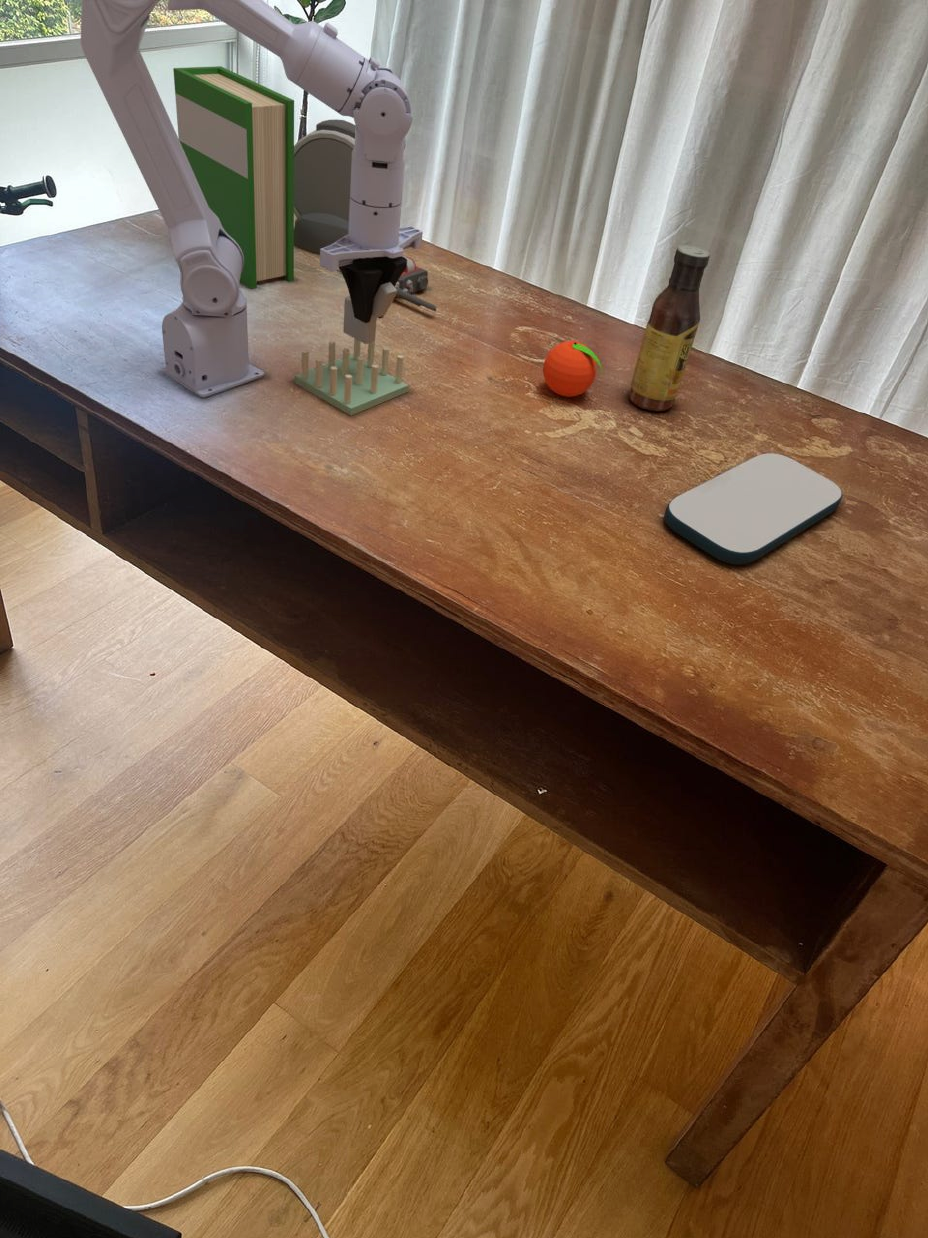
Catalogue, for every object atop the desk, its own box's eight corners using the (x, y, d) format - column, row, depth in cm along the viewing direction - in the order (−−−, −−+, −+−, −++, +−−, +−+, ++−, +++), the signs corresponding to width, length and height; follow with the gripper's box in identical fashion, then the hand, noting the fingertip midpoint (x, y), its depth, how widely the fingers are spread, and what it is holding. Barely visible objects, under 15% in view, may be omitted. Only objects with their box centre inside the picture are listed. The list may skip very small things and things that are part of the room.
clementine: (606, 396, 119) (619, 346, 114) (582, 415, 114) (594, 363, 109) (554, 375, 121) (565, 325, 117) (528, 392, 117) (539, 341, 112)
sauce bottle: (672, 418, 117) (720, 266, 104) (625, 407, 117) (667, 255, 104) (673, 395, 122) (720, 247, 108) (628, 385, 122) (669, 237, 109)
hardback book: (293, 280, 134) (294, 100, 118) (251, 288, 129) (245, 103, 113) (228, 239, 142) (220, 65, 126) (186, 246, 138) (173, 67, 122)
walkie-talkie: (329, 273, 137) (429, 320, 129) (330, 244, 134) (433, 290, 126) (368, 261, 143) (466, 305, 135) (370, 233, 140) (470, 276, 132)
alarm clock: (392, 246, 149) (401, 125, 137) (371, 266, 141) (379, 140, 129) (302, 225, 151) (303, 104, 139) (276, 243, 143) (275, 117, 131)
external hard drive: (735, 576, 93) (742, 561, 91) (650, 520, 98) (654, 505, 97) (846, 506, 106) (853, 492, 105) (765, 460, 112) (771, 446, 110)
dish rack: (350, 415, 106) (352, 381, 103) (294, 382, 111) (294, 348, 108) (408, 391, 113) (411, 358, 110) (352, 361, 117) (354, 328, 114)
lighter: (342, 331, 110) (345, 266, 105) (352, 328, 111) (355, 264, 106) (383, 353, 107) (388, 288, 102) (393, 350, 108) (398, 285, 103)
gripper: (353, 221, 92) (348, 345, 101) (446, 199, 101) (433, 315, 110) (307, 200, 95) (305, 322, 104) (401, 181, 104) (392, 294, 113)
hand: (368, 317), depth 107 cm, fingers closed on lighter, 2 cm apart
